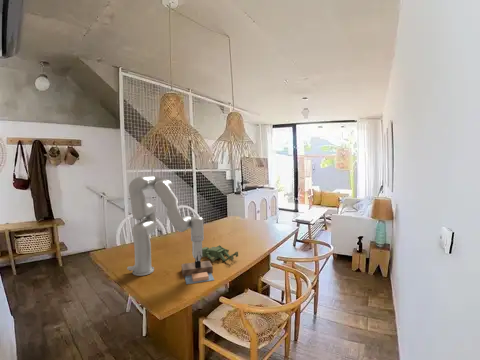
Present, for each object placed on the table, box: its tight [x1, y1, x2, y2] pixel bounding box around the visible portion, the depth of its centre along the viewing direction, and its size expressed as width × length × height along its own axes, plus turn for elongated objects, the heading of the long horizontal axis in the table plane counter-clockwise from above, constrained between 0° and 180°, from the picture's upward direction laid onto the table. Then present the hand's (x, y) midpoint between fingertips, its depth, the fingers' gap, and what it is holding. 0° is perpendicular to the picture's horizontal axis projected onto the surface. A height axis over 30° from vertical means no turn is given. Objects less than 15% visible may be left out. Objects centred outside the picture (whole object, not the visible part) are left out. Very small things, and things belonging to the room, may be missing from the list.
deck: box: [181, 260, 214, 278], centre depth 160 cm, size 18×10×4 cm, turn 107°
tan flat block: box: [192, 272, 209, 282], centre depth 150 cm, size 9×6×2 cm, turn 108°
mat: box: [184, 273, 215, 285], centre depth 150 cm, size 16×10×1 cm, turn 107°
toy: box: [202, 245, 239, 263], centre depth 182 cm, size 21×8×30 cm
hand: (197, 267), depth 155 cm, fingers closed
